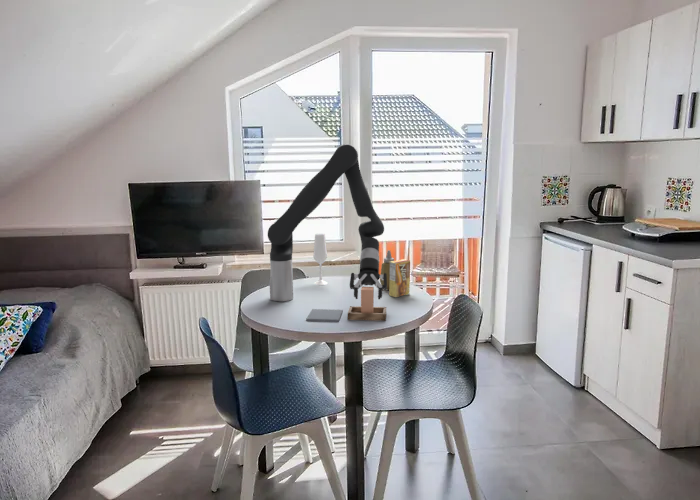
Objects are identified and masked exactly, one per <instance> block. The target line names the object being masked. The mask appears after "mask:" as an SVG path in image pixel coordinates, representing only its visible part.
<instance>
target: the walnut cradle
mask: <svg viewBox="0 0 700 500" xmlns="http://www.w3.org/2000/svg"><path fill="white" fill-rule="evenodd" d="M347 320H349V321H379V322H380V321H381V322H382V321H383V322H386V320H387V306H374V313H361V305H360V306H359V305H356V306H355V305H352V306H349V307H348V311H347Z"/></svg>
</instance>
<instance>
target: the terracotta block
mask: <svg viewBox="0 0 700 500" xmlns="http://www.w3.org/2000/svg"><path fill="white" fill-rule="evenodd" d="M374 288H375V287H374V286H362V287H360V306H361V313H374V307H375V305H374V298H375V297H374V296H375V295H374V290H375V289H374Z"/></svg>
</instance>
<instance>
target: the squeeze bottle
mask: <svg viewBox="0 0 700 500" xmlns="http://www.w3.org/2000/svg"><path fill="white" fill-rule="evenodd" d="M391 261H395V258H394V257H392V252H391V250H390V249H388V250H387V252H386V257H384V258H383V262H382V263H381V266H380V267H381V269H380V275H383V274H384V273H386V274H387V290H385V289H384V290H385V291H389V284H390V262H391ZM379 283H380V284H381V285H384V280H382V279H381V278H380V279H379ZM384 290H383V291H384Z"/></svg>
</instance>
